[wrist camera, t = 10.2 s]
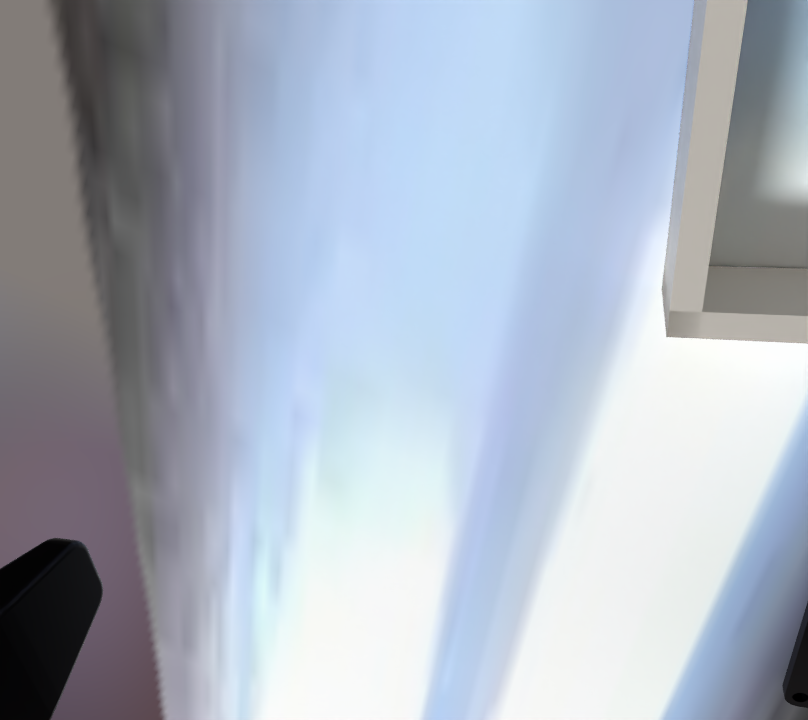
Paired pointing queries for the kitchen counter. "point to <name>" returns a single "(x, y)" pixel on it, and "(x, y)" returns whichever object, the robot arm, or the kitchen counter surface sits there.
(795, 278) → the socket board
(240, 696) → the kitchen counter surface
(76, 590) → the robot arm
